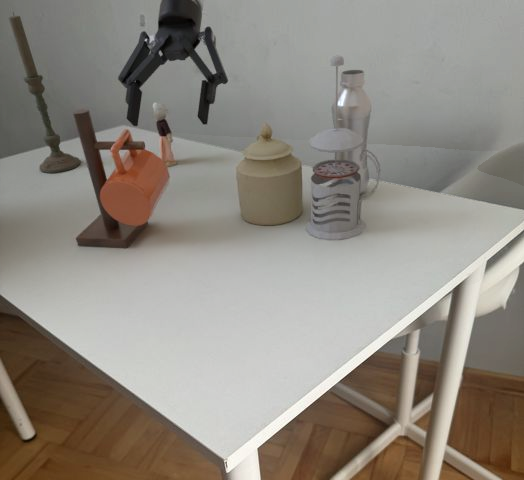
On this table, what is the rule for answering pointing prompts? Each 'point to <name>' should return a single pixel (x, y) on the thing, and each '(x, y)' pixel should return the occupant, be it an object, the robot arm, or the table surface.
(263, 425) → the table surface
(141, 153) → the mug
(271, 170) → the sugar bowl
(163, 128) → the grandmother figurine
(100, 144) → the mug stand
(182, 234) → the table surface
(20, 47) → the candlestick holder
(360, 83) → the silver metal bottle
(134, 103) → the robot arm
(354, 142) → the french press
